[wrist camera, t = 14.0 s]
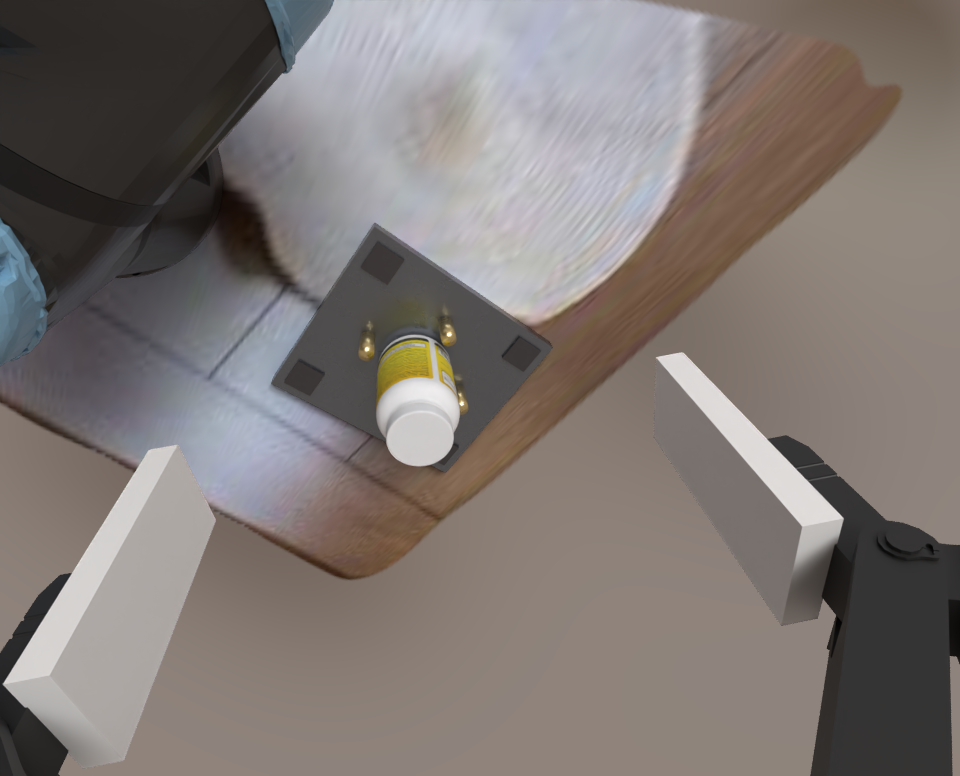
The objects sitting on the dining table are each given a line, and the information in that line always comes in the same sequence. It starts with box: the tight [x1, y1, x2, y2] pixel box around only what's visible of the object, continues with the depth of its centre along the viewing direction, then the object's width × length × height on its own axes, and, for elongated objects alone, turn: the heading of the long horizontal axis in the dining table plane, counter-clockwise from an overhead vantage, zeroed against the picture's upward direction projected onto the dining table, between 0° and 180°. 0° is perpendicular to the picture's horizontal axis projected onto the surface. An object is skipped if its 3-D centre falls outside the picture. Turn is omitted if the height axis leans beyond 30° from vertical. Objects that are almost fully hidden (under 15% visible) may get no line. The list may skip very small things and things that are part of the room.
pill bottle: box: [376, 335, 460, 466], centre depth 44 cm, size 6×6×11 cm
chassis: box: [271, 223, 553, 473], centre depth 48 cm, size 18×16×4 cm
